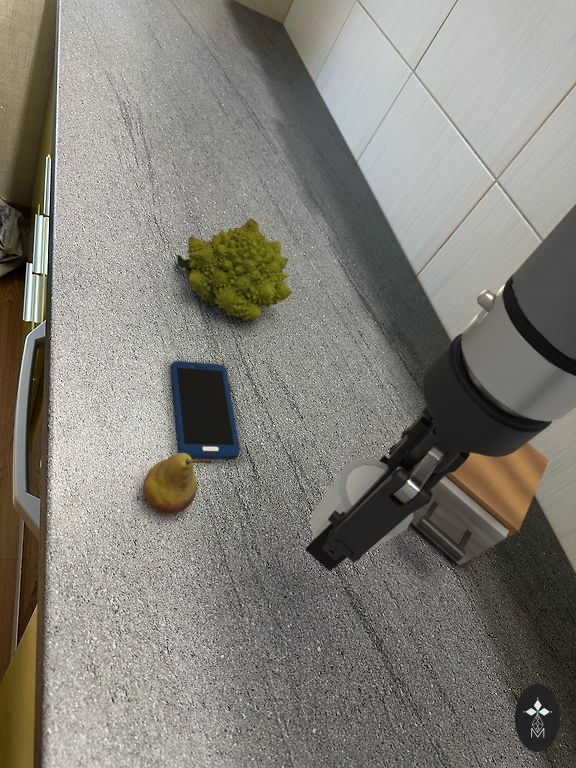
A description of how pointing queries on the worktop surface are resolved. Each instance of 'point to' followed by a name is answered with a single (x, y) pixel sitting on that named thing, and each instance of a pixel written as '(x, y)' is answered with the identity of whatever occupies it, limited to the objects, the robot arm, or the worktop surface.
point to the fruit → (171, 484)
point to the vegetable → (237, 270)
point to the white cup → (351, 495)
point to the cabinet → (502, 484)
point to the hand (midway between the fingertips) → (340, 527)
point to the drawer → (458, 522)
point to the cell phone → (204, 410)
